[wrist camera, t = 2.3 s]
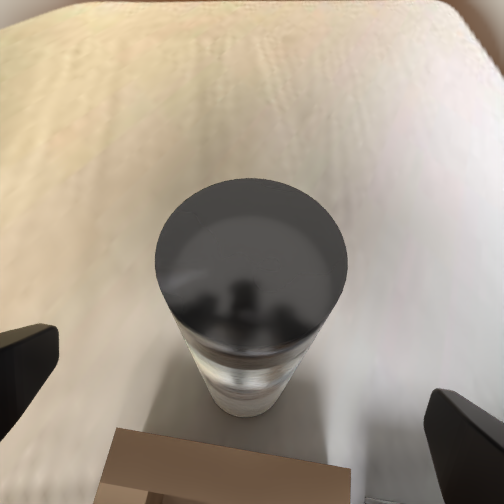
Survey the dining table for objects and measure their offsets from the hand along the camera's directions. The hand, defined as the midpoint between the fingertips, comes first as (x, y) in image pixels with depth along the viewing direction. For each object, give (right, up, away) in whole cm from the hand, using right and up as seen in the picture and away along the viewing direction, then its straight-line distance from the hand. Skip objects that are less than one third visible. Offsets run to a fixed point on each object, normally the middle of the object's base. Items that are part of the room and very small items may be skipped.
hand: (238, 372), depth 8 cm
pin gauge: (0, -4, +10) cm, 11 cm away
